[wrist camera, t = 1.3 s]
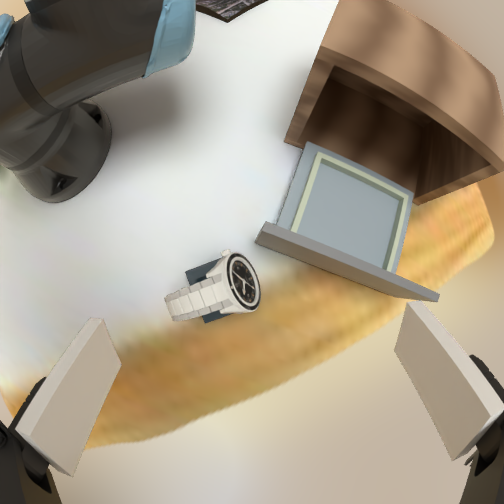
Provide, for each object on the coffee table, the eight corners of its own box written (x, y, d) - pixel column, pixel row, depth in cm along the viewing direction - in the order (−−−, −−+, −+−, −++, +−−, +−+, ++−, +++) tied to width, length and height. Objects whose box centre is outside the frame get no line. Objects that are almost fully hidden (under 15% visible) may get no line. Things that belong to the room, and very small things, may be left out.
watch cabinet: (283, 141, 32) (320, 45, 15) (312, 69, 34) (346, -18, 17) (418, 205, 33) (510, 168, 16) (427, 128, 34) (494, 75, 17)
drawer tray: (254, 242, 30) (262, 230, 22) (293, 139, 31) (310, 101, 23) (394, 297, 30) (437, 302, 22) (418, 200, 32) (458, 182, 23)
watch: (261, 298, 31) (275, 311, 20) (193, 323, 30) (172, 349, 19) (243, 251, 31) (247, 238, 20) (175, 276, 30) (144, 277, 19)
